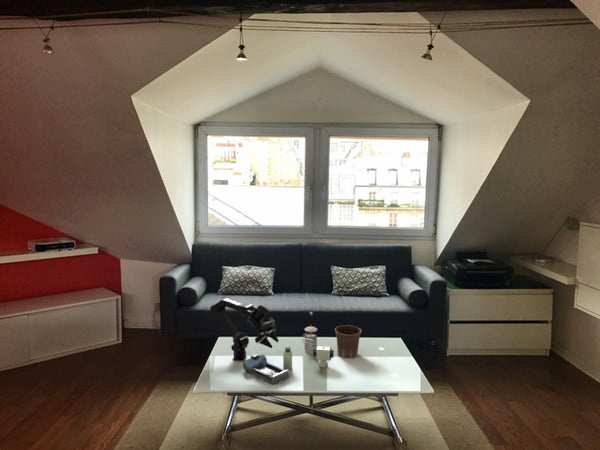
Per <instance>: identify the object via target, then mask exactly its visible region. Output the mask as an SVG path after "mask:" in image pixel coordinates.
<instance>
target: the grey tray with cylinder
mask: <svg viewBox="0 0 600 450" xmlns="http://www.w3.org/2000/svg"><path fill="white" fill-rule="evenodd" d="M242 367H243V370H244V372H246V373H247V374H249V373H250V375H252V376H253V377H256V378H258V379H259V380H261V381H264V382H265V383H267V384H270V386H275V385H277V383H278V384H280V383H282V382H284V381H286V380H289V379H290V371H289V370H288V369H287V370H284V369H283V368H282V367H279V366H278V365H275V364H273V363H271V362H269V361H268V360H267V357H266V355H264V354H263V353H261V354H258V353H253V354H251V355H250V358H248V359H244V360H243V361H242ZM281 381H282V382H281ZM279 382H280V383H279Z"/></svg>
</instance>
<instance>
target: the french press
mask: <svg viewBox="0 0 600 450" xmlns="http://www.w3.org/2000/svg"><path fill="white" fill-rule="evenodd" d="M309 315H314V313H313V312H312V311H310V312H309ZM304 331H305V332H304V333H303V335H301V336H302V337H301V338H304V340H301V342H302V344H304V348H303V349H302V352H304V353H306V354H309V355H310V354H312V355H313V349H316V346H318V337H317V335H316V334H315V332H317V331H318V328H316V326H312V325H310V326H307V327H305V328H304ZM306 332H307V333H306Z"/></svg>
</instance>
